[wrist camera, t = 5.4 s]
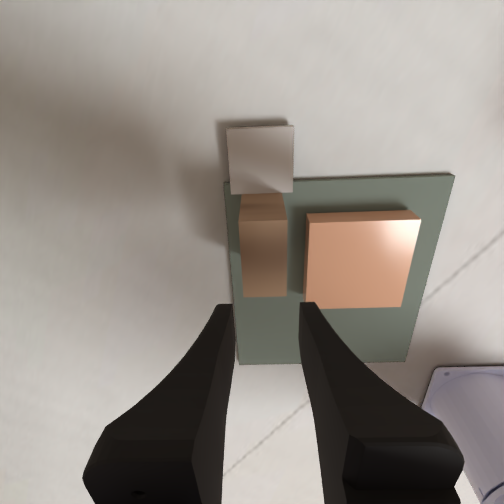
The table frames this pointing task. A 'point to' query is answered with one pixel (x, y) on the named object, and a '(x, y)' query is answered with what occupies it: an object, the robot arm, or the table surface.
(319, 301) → the tile
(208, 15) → the table surface
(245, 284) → the two-tone block stack
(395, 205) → the mat
